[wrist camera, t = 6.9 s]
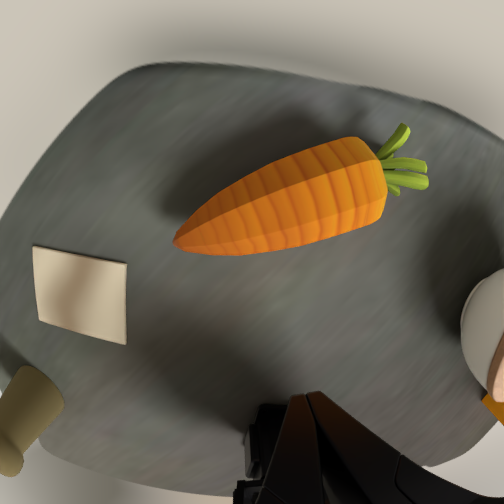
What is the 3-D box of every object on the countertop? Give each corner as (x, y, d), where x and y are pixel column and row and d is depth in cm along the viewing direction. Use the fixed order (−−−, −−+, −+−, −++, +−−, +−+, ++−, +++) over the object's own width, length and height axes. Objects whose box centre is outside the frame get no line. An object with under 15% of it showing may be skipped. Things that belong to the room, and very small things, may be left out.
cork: (23, 397, 20) (-23, 461, 10) (13, 356, 19) (-49, 420, 8) (68, 420, 21) (27, 496, 10) (60, 380, 20) (3, 463, 9)
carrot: (143, 187, 13) (418, 102, 12) (177, 212, 18) (391, 141, 17) (169, 288, 12) (462, 183, 11) (200, 288, 17) (423, 208, 16)
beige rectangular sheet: (126, 263, 17) (124, 265, 17) (126, 342, 19) (125, 345, 18) (34, 245, 17) (32, 246, 16) (41, 318, 18) (39, 320, 18)
